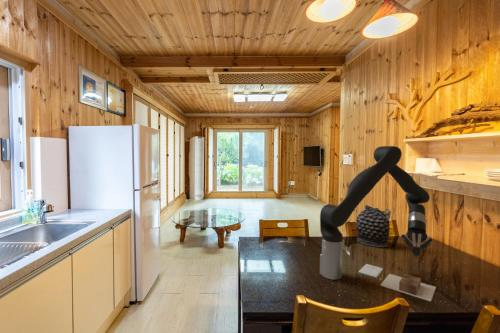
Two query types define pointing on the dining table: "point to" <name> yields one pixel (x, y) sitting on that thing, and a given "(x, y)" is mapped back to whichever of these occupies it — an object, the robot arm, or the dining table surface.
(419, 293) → the mat
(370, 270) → the external hard drive
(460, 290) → the dining table surface
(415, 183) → the robot arm
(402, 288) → the card box
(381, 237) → the dark studded dome
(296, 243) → the dining table surface
